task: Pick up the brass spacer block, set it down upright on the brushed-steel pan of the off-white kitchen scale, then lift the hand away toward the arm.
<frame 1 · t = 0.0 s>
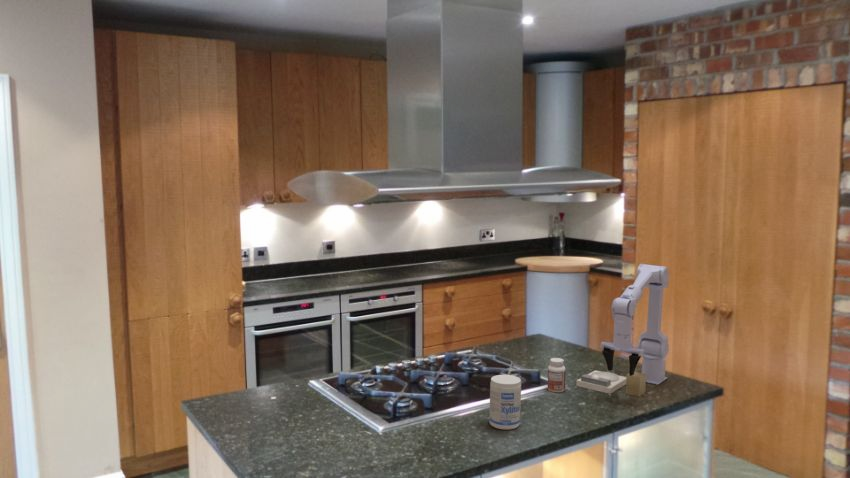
hand: (620, 372, 237), 10 cm above the counter, tool pointing down, fingers open, 7 cm apart
kitchen scale: (602, 384, 255), on the counter
supplement tub: (504, 425, 219), on the counter
pill bottle: (556, 390, 250), on the counter
brass spacer: (635, 393, 247), on the counter
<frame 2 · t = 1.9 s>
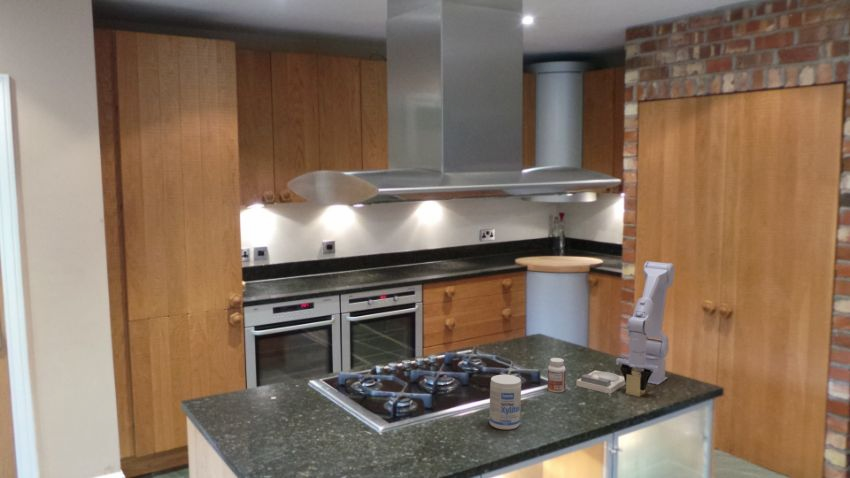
hand: (635, 387, 246), 2 cm above the counter, tool pointing down, fingers closed on brass spacer, 5 cm apart
brass spacer: (635, 393, 247), on the counter, touching gripper
everything else where it was.
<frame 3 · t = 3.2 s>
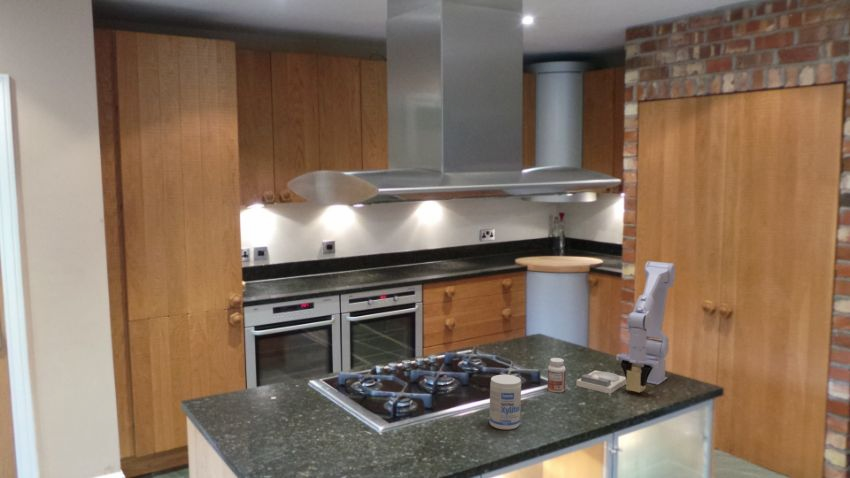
hand: (635, 383, 246), 3 cm above the counter, tool pointing down, fingers closed on brass spacer, 5 cm apart
brass spacer: (635, 389, 246), point 1 cm above the counter, touching gripper
everything else where it was.
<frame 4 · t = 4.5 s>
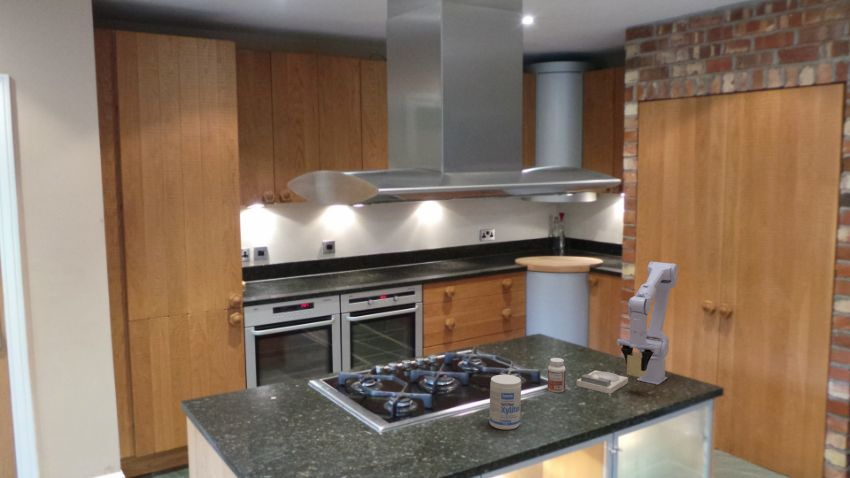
hand: (636, 368, 245), 9 cm above the counter, tool pointing down, fingers closed on brass spacer, 5 cm apart
brass spacer: (636, 374, 246), point 7 cm above the counter, touching gripper
everything else where it was.
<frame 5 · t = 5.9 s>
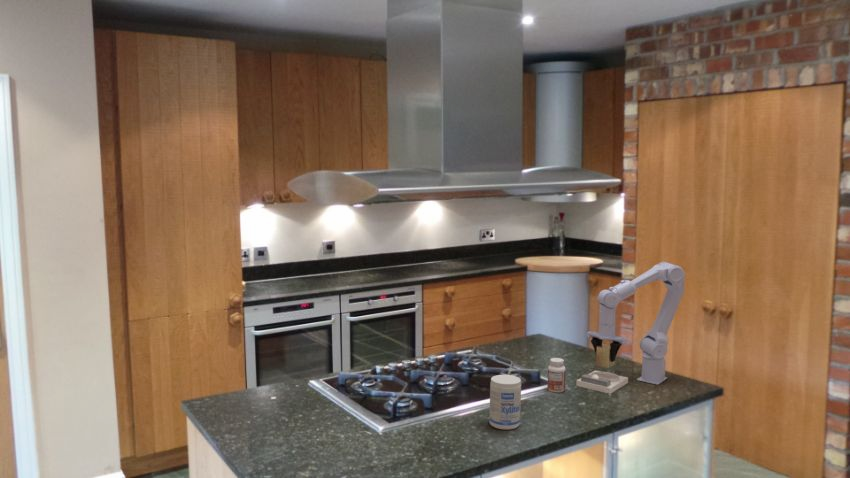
hand: (605, 359, 256), 9 cm above the counter, tool pointing down, fingers closed on brass spacer, 5 cm apart
brass spacer: (605, 364, 256), point 7 cm above the counter, touching gripper
everything else where it was.
when the fingers open (6 cm above the counter, at t = 7.1 s): brass spacer drops 1 cm, resting on kitchen scale.
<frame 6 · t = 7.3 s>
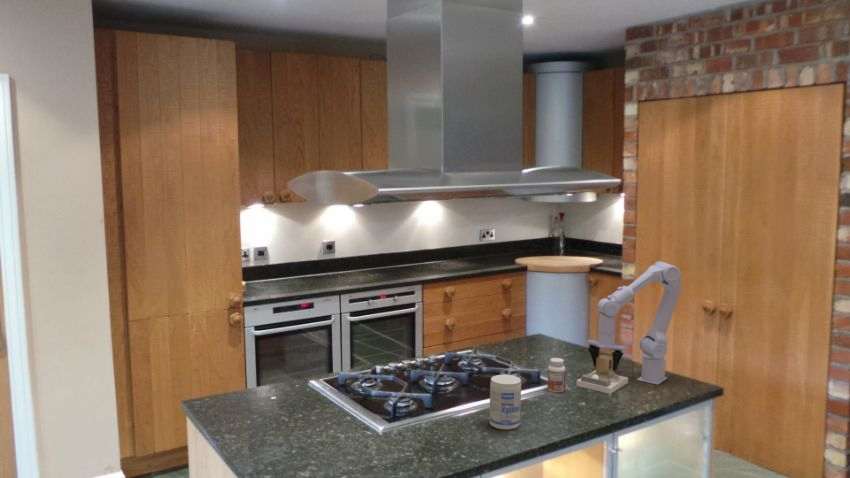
hand: (605, 368, 256), 6 cm above the counter, tool pointing down, fingers open, 7 cm apart
brass spacer: (604, 376, 257), point 3 cm above the counter, touching kitchen scale
everything else where it was.
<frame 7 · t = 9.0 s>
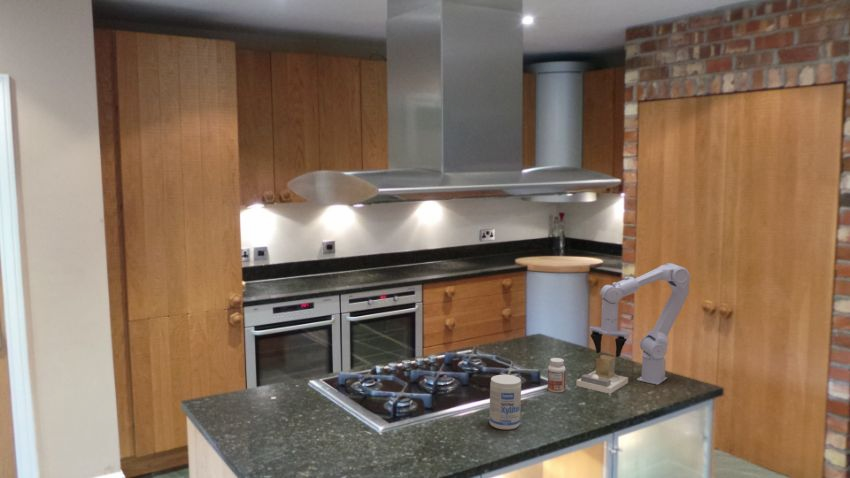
hand: (608, 354, 257), 10 cm above the counter, tool pointing down, fingers open, 7 cm apart
nothing on the counter moved.
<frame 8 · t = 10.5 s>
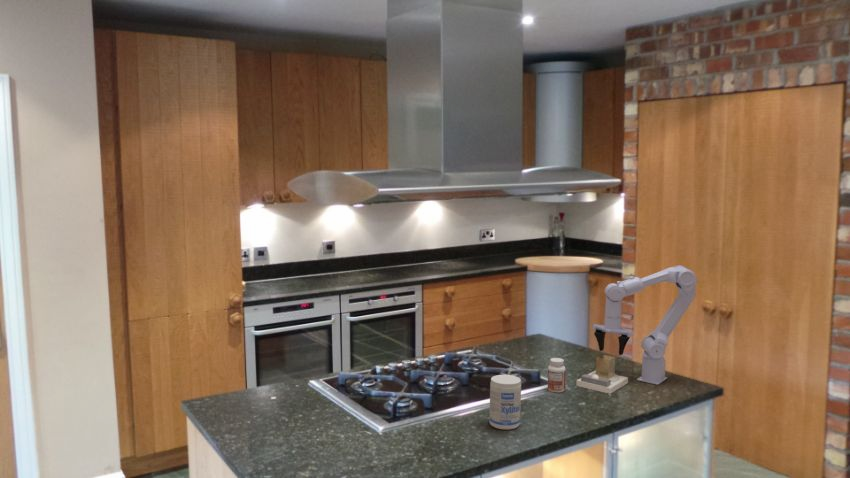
hand: (611, 352, 259), 10 cm above the counter, tool pointing down, fingers open, 7 cm apart
nothing on the counter moved.
at the end: brass spacer 0.0 cm from the target spot on the kitchen scale, point 2.6 cm above the kitchen scale's base; brass spacer tilted 0°; the gripper is holding nothing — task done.
